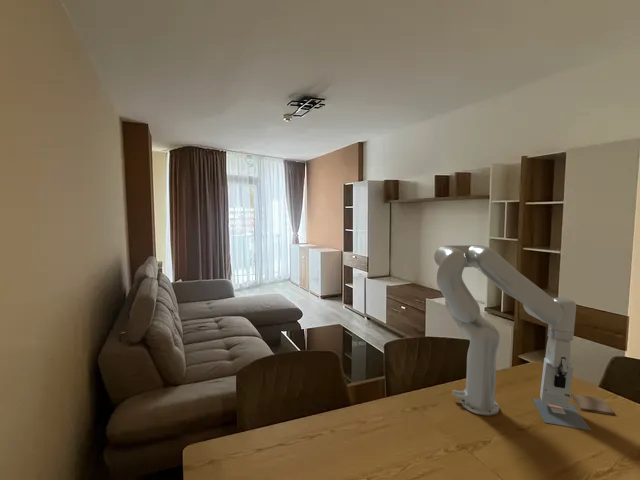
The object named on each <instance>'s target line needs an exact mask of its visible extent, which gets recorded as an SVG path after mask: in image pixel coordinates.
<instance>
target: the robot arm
mask: <svg viewBox="0 0 640 480" xmlns="http://www.w3.org/2000/svg"><path fill="white" fill-rule="evenodd" d="M433 255H434V256H433V257H434V261H435V264H436V265H437V266H438V269H437V273H436V284H437V287H438V289H439V291H440V292H441V294H442V296H443V298H444V299H445V302H444V303H445V308H446V310H447V312H448V313H449V315H450V316H451V318H452V319H453V321H454V322H455V324H456V326H457V327H458V328H459V330H460V331H461V332H462V334H463V335H464V336H465V337H466V338H467V339H468V340H469V344H468V345H469V347H468V349H467V354H466V355H467V356H466V379H465V380H466V382H465V388H463V389H464V390H457V389H452V390H451V391H452V393H451V394H452V396H454V397H455V398H456V399H460V404H461V406H462V407H463V408H464V409H465V410H467V411H469V412H471V413H473V414H476V415H480V416H494V415H496V414H498V413H499V411H500V406H499V404H498V402H497V401H495V398H496V397H495V396H496V393H495V392H496V377H497V376H496V375H497V357H498V350H499V347H500V342H501V340H500V339H501V337H500V333H499V330H498V328H497V327H495V325H493V323H492V322H490V321H488V320H487V319H485V318H484V317H483V316H482V315H481V307H480V305H479V303H478V301H477V300H476V299H475V297H474V296H473V295H472V293H471V291H470V290H469V288H468V287H467V285H466V283H465V282H464V280H463V279H464V278H463V272H464V269H465V268H475V269H477V270H478V271H480V272H481V274H483V275H484V276H485V277H487V278H488V280H490V281H491V282H492V283H493V284H494V285H495V286H497V288H498V289H500V291H502V292H504V294H506V295H507V296H510V297H511V298H513V299H515V300H517V301H518V302H520V303H521V304H522V307H523V310H524V311H525V313H527V314H528V315H529V316H532V317H533V318H535V319H537V320H539V321H541V322H542V323H545V324H547V325H548V327H547V343H546V349H545V357H544V358H547V359H548V361H549V362H550V363H551V366H552V367H554V368H555V367H556V375H555V378H554V386H555V387H559V388H565V383H566V374H567V372H568V370H567V369H569V365H570V363H571V347H572V346H571V342H573V341H574V335H575V334H574V333H575V325H576V324H575V323H576V312H577V303H576V302H575V301H574V300H572V299H569V298H564V297H552V296H550V295H549V294H548V293H547V292H545V291H544V290H543V289H541V288H540V287H539V286H538V285H536V283H534V282H533V281H531V280H530V279H529V278H527V277H526V276H525V275H524V274H522V273H521V272H520V271H518V270H517V269H516V268H515V267H514V266H513V265H512V264H510V263H509V262H508V260H506V259H505V258H504V257H502V256H501V254H499V253H498V252H497V251H496V250H494V249H493V248H491V247H489V246H484V245H479V244H471V245H470V244H469V245H463V244H461V245H455V244H454V245H442V246H440V247H438V248H437V249H436V250H435V252H434V254H433ZM558 366H561V367H558ZM559 369H562V370H561V371H559Z"/></svg>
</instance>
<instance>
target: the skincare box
mask: <svg viewBox="0 0 640 480" xmlns="http://www.w3.org/2000/svg"><path fill="white" fill-rule="evenodd" d="M542 366H543V368H542V373H541V374H542V376H541V385H540V392H539V397H540V399H541V401H542V402H543V403H547V404H551V405H556V406H560V407H564V408H568V406H569V404H570V397H571V391H572V390H571V389H572V381H573V374H574V367H573V365H572V363H571V362H570V365H569V369H567V370H568V372H567V374H566V383H565V388H559V387H555V386H554V378H555V375H556V367H555V368H554V367H552V366H551V363H550V362H549V361H548V359H547V358H546V357H544V358H543V365H542ZM558 367H561V366H558ZM561 370H562V369H559V371H561Z"/></svg>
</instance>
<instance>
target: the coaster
mask: <svg viewBox="0 0 640 480" xmlns="http://www.w3.org/2000/svg"><path fill="white" fill-rule="evenodd" d="M570 397H571V398H572V400H573V402H574V403H575V405H576V406H577V407H578V409H579V410H580V411H586V412H591V413H597V414H603V415H604V414H605V415H611V416H616V415H615V414H616V413H615V411H614V410H613V409H612V408H611V407H610V406H609V405H608V404H607V402H606V401H605V400H604V399H603V398H601V397H595V396H587V395H581V394H574V393H570Z"/></svg>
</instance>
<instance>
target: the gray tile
mask: <svg viewBox="0 0 640 480" xmlns="http://www.w3.org/2000/svg"><path fill="white" fill-rule="evenodd" d="M532 401H533V403H534V405H535V407H536V410H537V411H538V413H539V415H540V417H541V419H542V420H543V423H544V424H548V425H549V424H550V425H555V426H562V427H568V428H572V429H573V428H574V429H578V430H584V431H592V430H591V428H590V427H589V425H588V424H587V422H586V420H584V418H583V416H581V414H580V412H579V411H578V410H577V409H576V407H575V406H574V404H572V403H569V406H568V408H564V407H560V406H556V405H551V404H547V403H543V402H542V401H541V398H533V397H532Z"/></svg>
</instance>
